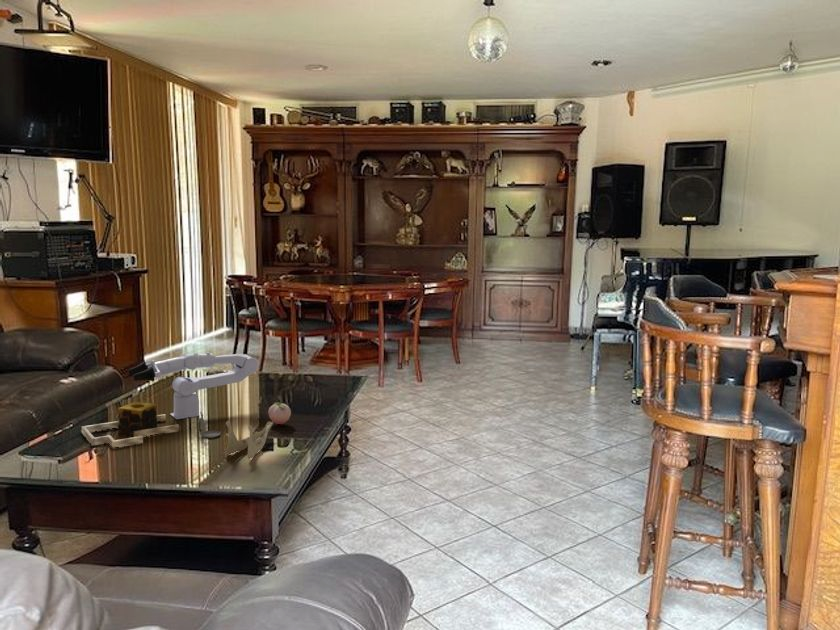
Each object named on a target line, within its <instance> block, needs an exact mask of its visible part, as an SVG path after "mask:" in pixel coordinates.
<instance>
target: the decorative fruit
mask: <svg viewBox="0 0 840 630" xmlns="http://www.w3.org/2000/svg"><path fill="white" fill-rule="evenodd" d="M267 414H268V416H269V418H270V420H271V422H273V424H276V425H277V424H281V425H283V424H285V423H286V422H287V421H288V420H289V419H290V417H291V415H292V410H291V408H290V407H289V406H288V405H287V404H286V403H282V402H281V401H279V402H274V403H273V404H272V405H270V407H269V409H268V411H267Z"/></svg>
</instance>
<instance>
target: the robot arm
mask: <svg viewBox="0 0 840 630" xmlns="http://www.w3.org/2000/svg"><path fill="white" fill-rule="evenodd" d="M217 364H219V365H220V364H222V365H223V364H234V368H233V370H231V371H228V372H222V373H215V374H211V375H205V376H199V377H198V376H197V377H184V376H178V377H175V378H174V379H173V381H172V384H171V386H172V389H173V390H174V393H173V412H171V413H170V416H172V417H173V418H174V419H175V420H179V419H180V420H181V419H188V417H189V418H195V417H199V416H200V400H199V395H198V394H197V392H199V391H200V390H203V389H204V390H205V389H209V388H214V387H220V386H225V385H230V384H235V383H236V384H237V383H241V382H243V380H245V379H246V378H248V377H249V376H250V375H253V374H255V373H256V371H257V369H258V366H259V361H258V359H257V358H255V357H251V356H250V355H248V354H246V353H243V354H242V353H234V354H233V353H232V354H231V353H230V354H224V355H214V354H213V353H211V352H210V351H206V352H205V353H197V352H194V354H192V353H187V352H185V353H183V354H182V355H180V356H178V357H172V358H168V359H163V360H158V361H155V359H151V362H148V363H146V361H145V360H144V361H142V362H141V363H139V364H137V366H134V367H132V368H130V369H127V372H128V373H127V374H128V376H132V377H133V381H134V382H135V381H138V382H139V381H150V382H155V379H156V378H161V377H162V376H164V375H165V376H166V375H168V374H172V373H173V374H174V373H176V372H180V371H184V370H187V369H188V370H192V371H195V370H197V368H198V369H199V368H200V369H202V368H210V367H211V368H212V367H214V366H215V365H217Z"/></svg>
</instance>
